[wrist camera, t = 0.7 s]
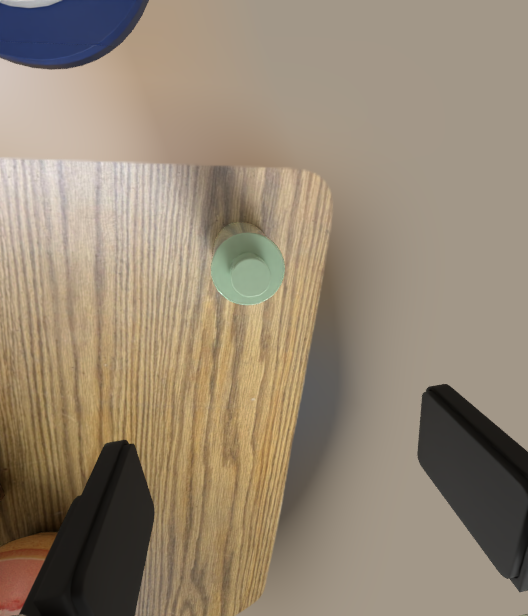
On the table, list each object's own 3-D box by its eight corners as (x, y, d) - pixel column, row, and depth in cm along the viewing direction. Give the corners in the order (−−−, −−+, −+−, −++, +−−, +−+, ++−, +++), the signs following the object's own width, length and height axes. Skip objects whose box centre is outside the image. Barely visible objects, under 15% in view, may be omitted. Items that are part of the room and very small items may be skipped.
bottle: (211, 222, 27) (206, 238, 18) (267, 221, 28) (292, 235, 18) (215, 277, 29) (212, 318, 19) (268, 275, 29) (290, 314, 20)
